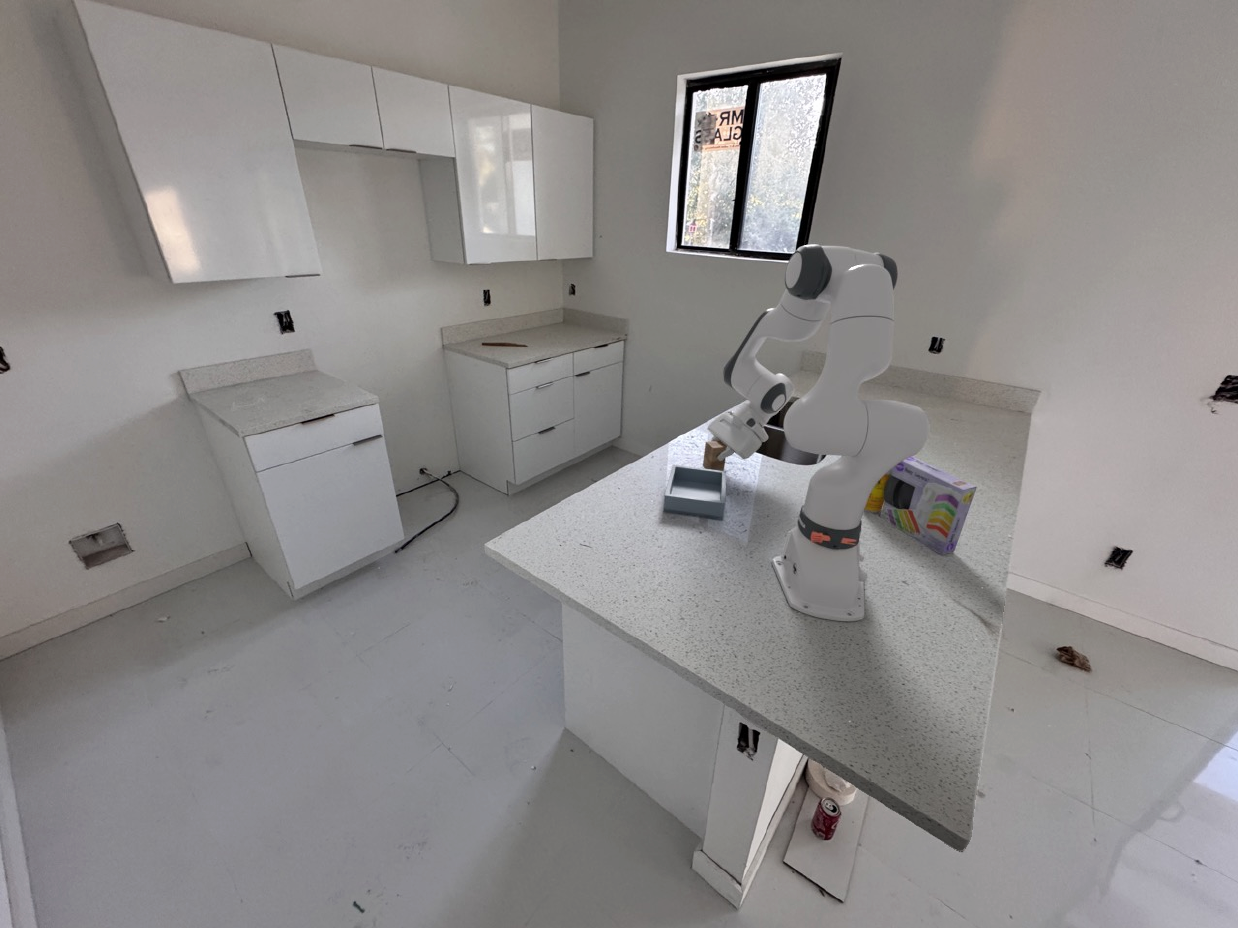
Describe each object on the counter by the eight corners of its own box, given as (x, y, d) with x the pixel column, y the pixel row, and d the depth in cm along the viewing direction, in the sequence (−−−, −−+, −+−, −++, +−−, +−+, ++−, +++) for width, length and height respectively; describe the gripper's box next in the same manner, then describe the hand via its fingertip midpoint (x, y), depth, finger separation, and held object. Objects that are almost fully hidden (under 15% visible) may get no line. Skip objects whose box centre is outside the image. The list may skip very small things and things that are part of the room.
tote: (722, 520, 125) (725, 503, 122) (663, 512, 127) (664, 495, 125) (723, 487, 141) (726, 471, 138) (671, 480, 143) (672, 464, 141)
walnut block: (723, 471, 147) (727, 446, 144) (709, 472, 146) (713, 448, 142) (716, 464, 151) (719, 440, 148) (702, 466, 150) (705, 441, 146)
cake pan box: (874, 514, 130) (893, 453, 122) (888, 511, 132) (908, 451, 124) (939, 557, 114) (966, 490, 106) (955, 553, 116) (982, 487, 108)
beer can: (855, 509, 132) (870, 459, 125) (857, 499, 137) (871, 450, 130) (880, 516, 130) (897, 464, 123) (881, 505, 134) (897, 456, 128)
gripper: (723, 403, 152) (691, 435, 153) (760, 427, 135) (724, 463, 136) (734, 415, 155) (703, 447, 157) (772, 440, 138) (736, 475, 139)
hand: (713, 454), depth 146 cm, fingers closed on walnut block, 5 cm apart
